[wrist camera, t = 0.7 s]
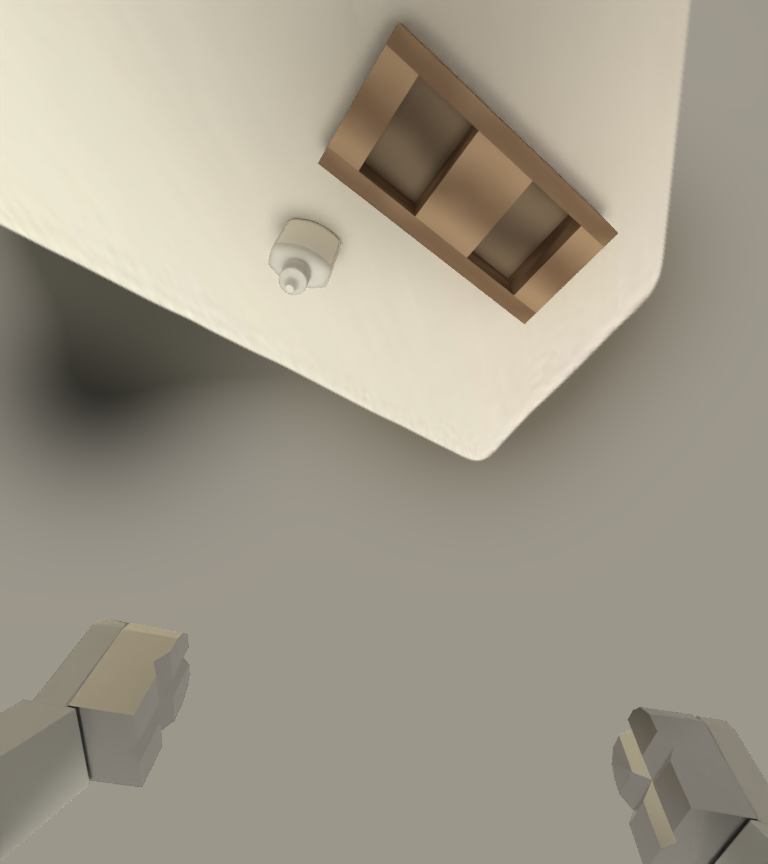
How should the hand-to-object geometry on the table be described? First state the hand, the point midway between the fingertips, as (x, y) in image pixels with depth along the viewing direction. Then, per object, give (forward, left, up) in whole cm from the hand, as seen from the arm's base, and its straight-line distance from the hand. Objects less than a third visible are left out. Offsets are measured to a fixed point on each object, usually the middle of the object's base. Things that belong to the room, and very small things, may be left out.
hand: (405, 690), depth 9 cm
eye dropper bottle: (+12, -4, -46) cm, 48 cm away
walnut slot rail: (-1, +5, -46) cm, 46 cm away
